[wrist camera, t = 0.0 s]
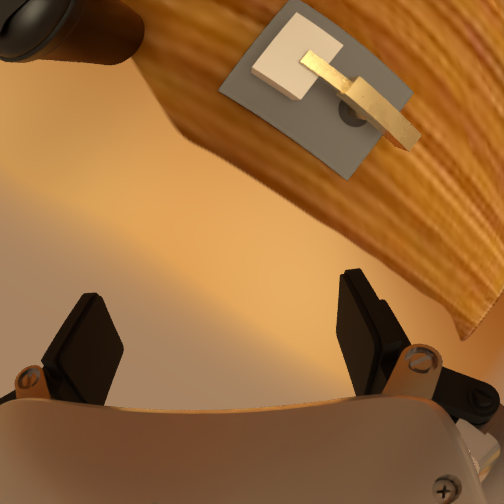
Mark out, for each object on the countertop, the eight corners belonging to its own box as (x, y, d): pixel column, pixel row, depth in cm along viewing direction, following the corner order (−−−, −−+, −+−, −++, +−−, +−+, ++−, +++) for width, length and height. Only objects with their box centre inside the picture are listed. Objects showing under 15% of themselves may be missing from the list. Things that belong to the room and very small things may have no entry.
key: (300, 56, 31) (317, 43, 23) (385, 126, 35) (421, 135, 27) (288, 71, 32) (302, 61, 24) (375, 139, 36) (409, 151, 28)
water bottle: (72, 38, 29) (-45, 19, 9) (128, -9, 27) (37, -74, 7) (104, 85, 33) (-15, 89, 13) (164, 38, 31) (80, -19, 11)
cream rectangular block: (288, 25, 29) (296, 12, 24) (328, 53, 31) (343, 45, 26) (250, 72, 32) (252, 67, 27) (292, 100, 34) (300, 99, 29)
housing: (290, 0, 29) (293, -5, 27) (406, 92, 35) (414, 92, 33) (219, 91, 35) (217, 90, 33) (342, 177, 40) (347, 180, 39)
